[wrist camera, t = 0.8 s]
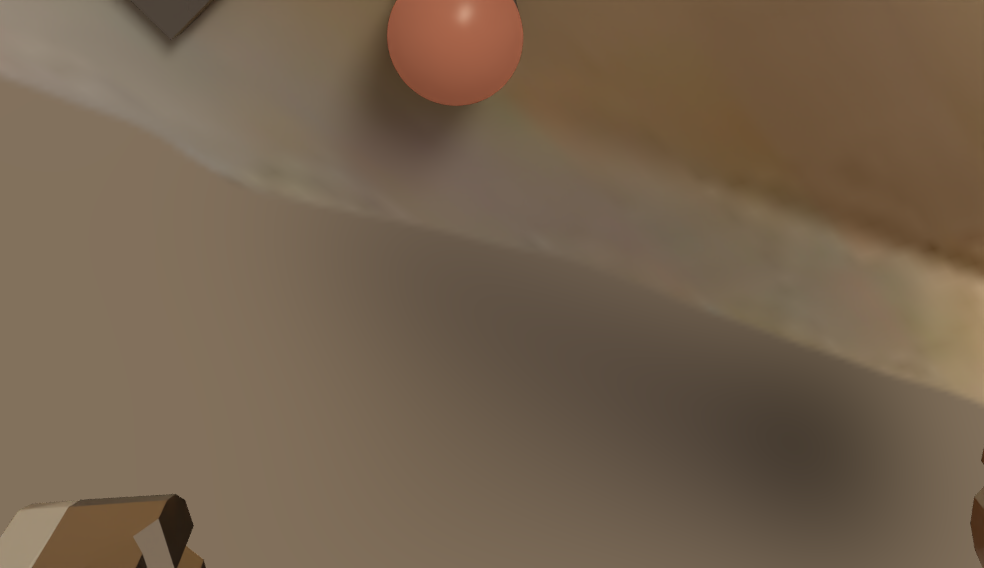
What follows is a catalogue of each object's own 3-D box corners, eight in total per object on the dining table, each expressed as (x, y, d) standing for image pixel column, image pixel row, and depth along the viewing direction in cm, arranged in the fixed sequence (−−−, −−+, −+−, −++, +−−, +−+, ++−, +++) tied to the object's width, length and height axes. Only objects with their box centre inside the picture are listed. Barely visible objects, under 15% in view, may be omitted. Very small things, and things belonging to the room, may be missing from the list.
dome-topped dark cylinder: (463, -82, 37) (460, -65, 30) (536, 8, 39) (550, 45, 32) (380, -4, 39) (358, 31, 31) (454, 80, 40) (450, 131, 33)
